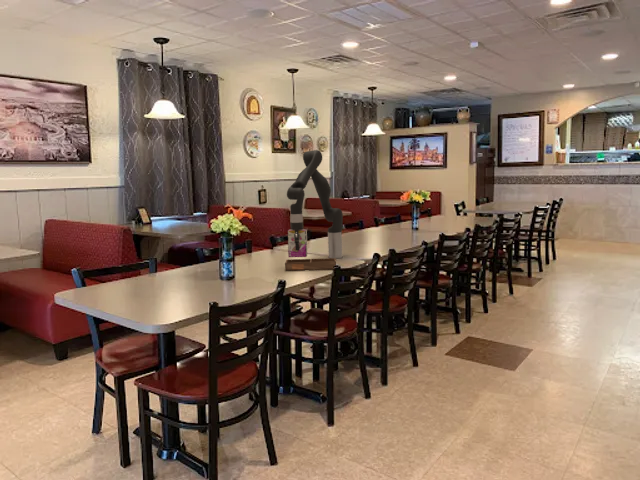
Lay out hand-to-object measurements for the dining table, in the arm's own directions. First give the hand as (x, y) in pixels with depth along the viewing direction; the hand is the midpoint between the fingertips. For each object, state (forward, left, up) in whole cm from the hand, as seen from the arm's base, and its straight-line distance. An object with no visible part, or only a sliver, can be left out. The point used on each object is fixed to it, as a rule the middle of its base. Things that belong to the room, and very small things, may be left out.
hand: (297, 249), depth 303 cm
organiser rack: (0, +8, -12) cm, 14 cm away
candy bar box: (0, 0, -5) cm, 5 cm away
